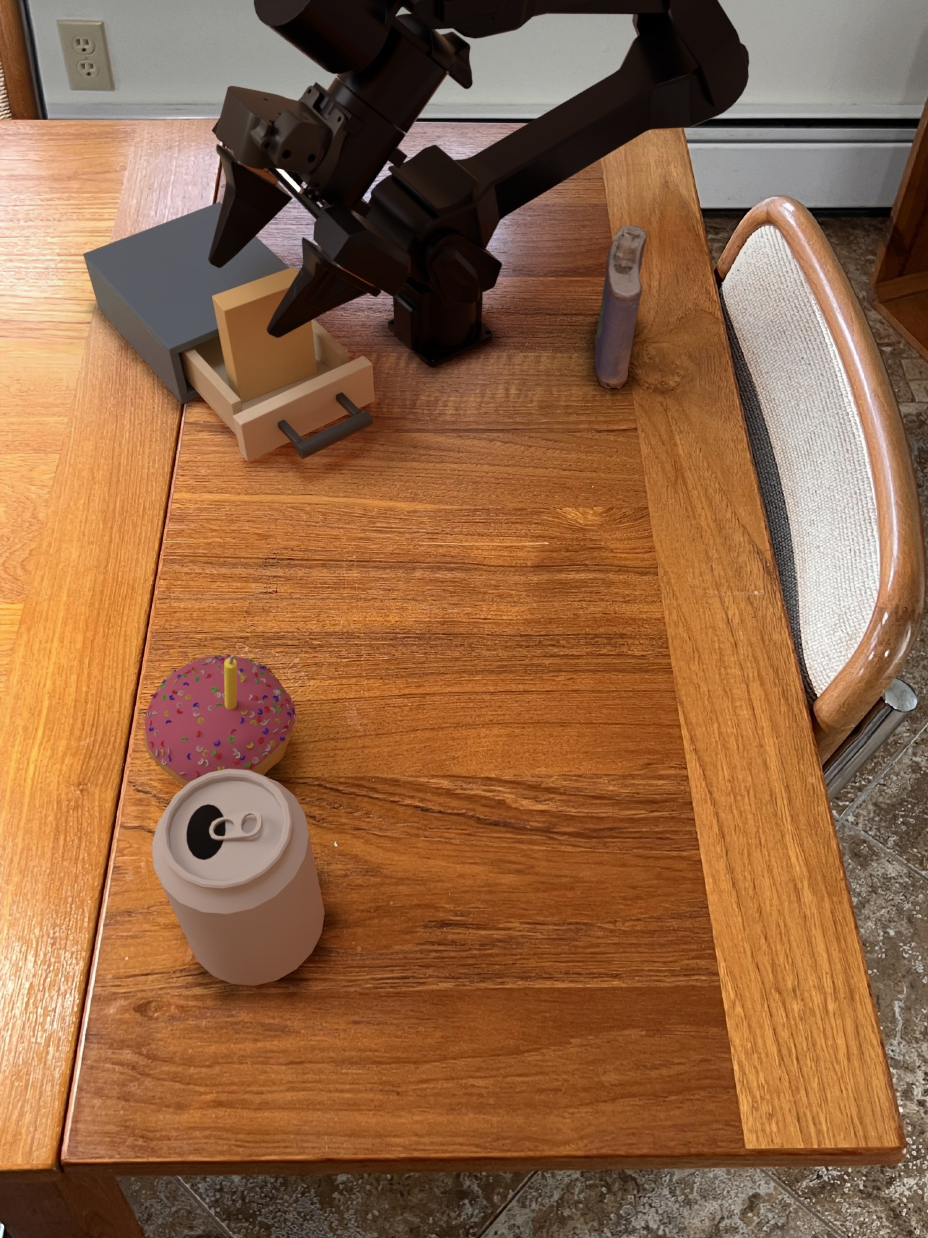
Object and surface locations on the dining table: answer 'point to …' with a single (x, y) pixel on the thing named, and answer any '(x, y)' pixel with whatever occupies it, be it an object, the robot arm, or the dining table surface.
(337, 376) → the drawer
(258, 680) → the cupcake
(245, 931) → the can
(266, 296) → the block
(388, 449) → the dining table surface
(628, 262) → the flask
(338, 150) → the robot arm
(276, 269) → the cabinet
